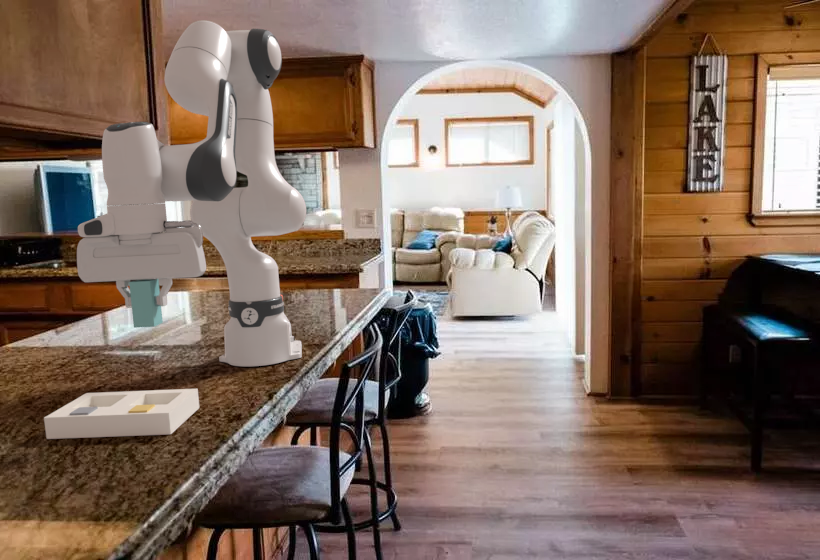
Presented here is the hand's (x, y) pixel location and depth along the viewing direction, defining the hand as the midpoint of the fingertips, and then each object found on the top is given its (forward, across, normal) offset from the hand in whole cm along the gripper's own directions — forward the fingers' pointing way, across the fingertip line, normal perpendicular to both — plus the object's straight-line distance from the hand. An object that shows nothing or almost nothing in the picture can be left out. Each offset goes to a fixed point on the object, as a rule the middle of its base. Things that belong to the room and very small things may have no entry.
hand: (146, 306), depth 110 cm
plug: (+3, 0, 0) cm, 3 cm away
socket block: (+19, +5, +1) cm, 20 cm away
